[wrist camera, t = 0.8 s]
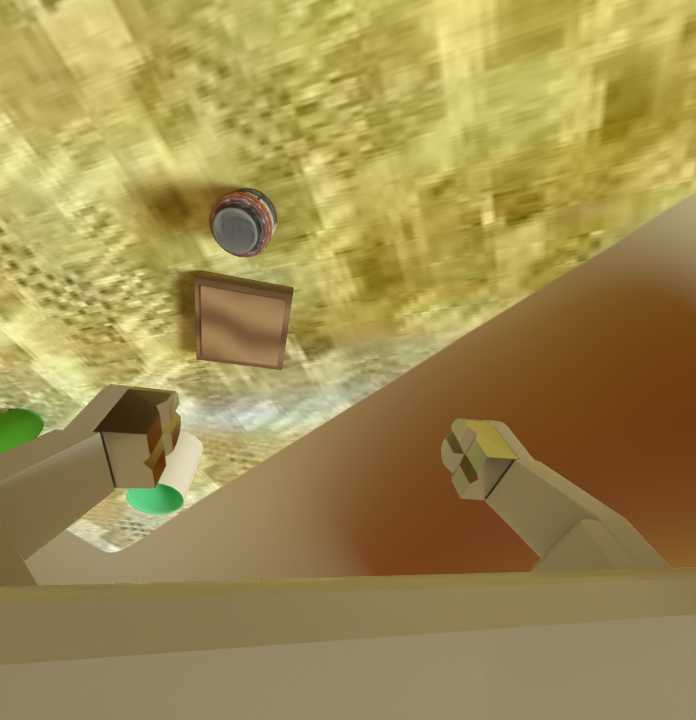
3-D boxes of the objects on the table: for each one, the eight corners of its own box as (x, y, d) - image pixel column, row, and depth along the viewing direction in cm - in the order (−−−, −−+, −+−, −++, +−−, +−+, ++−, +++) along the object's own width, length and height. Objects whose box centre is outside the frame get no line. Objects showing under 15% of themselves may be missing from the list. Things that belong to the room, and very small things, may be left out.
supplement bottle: (235, 244, 38) (211, 268, 29) (220, 190, 35) (188, 198, 25) (282, 238, 38) (274, 261, 29) (271, 185, 35) (258, 190, 26)
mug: (124, 441, 53) (89, 494, 45) (146, 414, 51) (112, 465, 42) (189, 467, 59) (168, 519, 50) (211, 444, 56) (193, 494, 47)
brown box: (201, 270, 39) (193, 278, 37) (293, 287, 42) (292, 295, 39) (202, 348, 45) (196, 360, 43) (283, 359, 48) (281, 371, 45)
